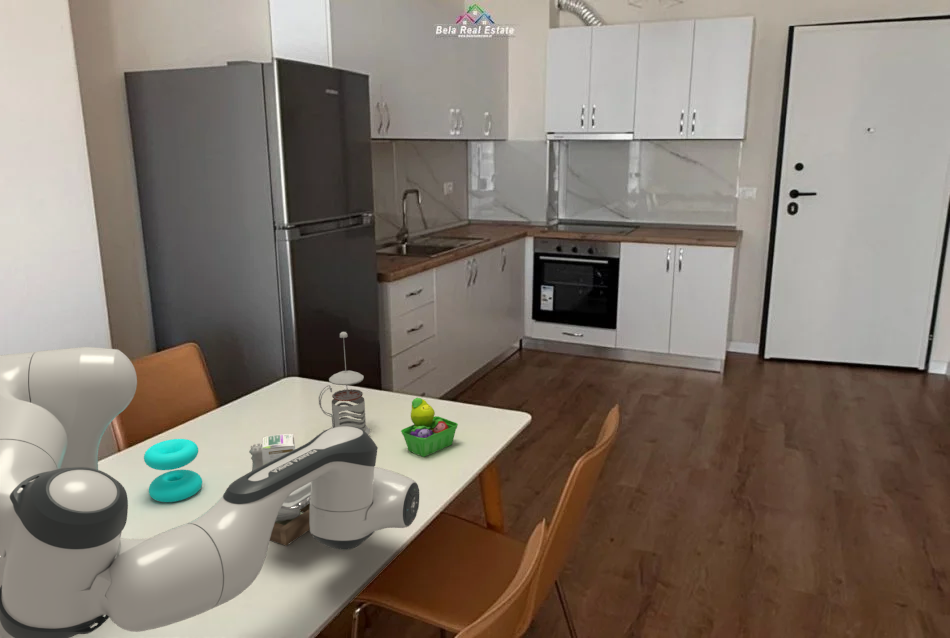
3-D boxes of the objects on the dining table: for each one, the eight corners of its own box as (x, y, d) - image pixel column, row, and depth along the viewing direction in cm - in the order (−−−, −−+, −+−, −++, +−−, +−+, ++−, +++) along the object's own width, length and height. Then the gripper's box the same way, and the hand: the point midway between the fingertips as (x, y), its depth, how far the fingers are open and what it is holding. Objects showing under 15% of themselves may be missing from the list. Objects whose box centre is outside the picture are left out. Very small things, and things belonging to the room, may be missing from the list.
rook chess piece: (265, 487, 146) (261, 451, 144) (245, 486, 147) (241, 450, 145) (275, 477, 150) (272, 442, 148) (256, 476, 151) (252, 441, 149)
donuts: (139, 461, 136) (146, 440, 145) (146, 508, 138) (152, 485, 148) (196, 453, 139) (198, 433, 148) (201, 500, 141) (204, 477, 151)
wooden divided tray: (286, 545, 125) (285, 530, 124) (239, 530, 130) (237, 515, 129) (362, 492, 143) (361, 478, 142) (317, 480, 148) (316, 467, 147)
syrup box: (268, 508, 134) (260, 436, 130) (300, 503, 135) (293, 432, 132) (268, 524, 128) (259, 449, 125) (302, 518, 130) (294, 444, 126)
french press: (375, 436, 170) (369, 334, 163) (325, 445, 165) (317, 340, 159) (365, 421, 178) (359, 324, 172) (318, 429, 174) (310, 330, 168)
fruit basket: (423, 461, 156) (421, 412, 154) (396, 449, 162) (394, 402, 160) (460, 444, 164) (458, 398, 162) (433, 434, 170) (432, 389, 168)
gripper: (296, 529, 115) (234, 510, 122) (372, 476, 133) (315, 462, 139) (293, 493, 114) (230, 476, 120) (371, 445, 131) (312, 432, 138)
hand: (276, 468), depth 130 cm, fingers closed on syrup box, 8 cm apart
